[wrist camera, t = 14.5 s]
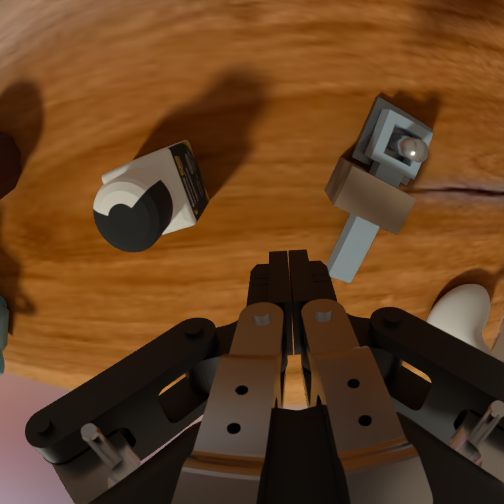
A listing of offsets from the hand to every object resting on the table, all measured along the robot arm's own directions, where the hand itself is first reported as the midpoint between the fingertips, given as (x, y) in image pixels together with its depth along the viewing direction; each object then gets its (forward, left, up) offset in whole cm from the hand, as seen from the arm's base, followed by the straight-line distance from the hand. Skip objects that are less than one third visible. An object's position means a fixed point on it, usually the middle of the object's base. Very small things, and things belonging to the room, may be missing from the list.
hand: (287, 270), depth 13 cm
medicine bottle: (+5, -10, -21) cm, 24 cm away
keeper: (-2, +9, -21) cm, 23 cm away
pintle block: (-8, +10, -21) cm, 24 cm away
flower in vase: (+8, +32, -21) cm, 39 cm away
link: (-1, +10, -20) cm, 22 cm away
